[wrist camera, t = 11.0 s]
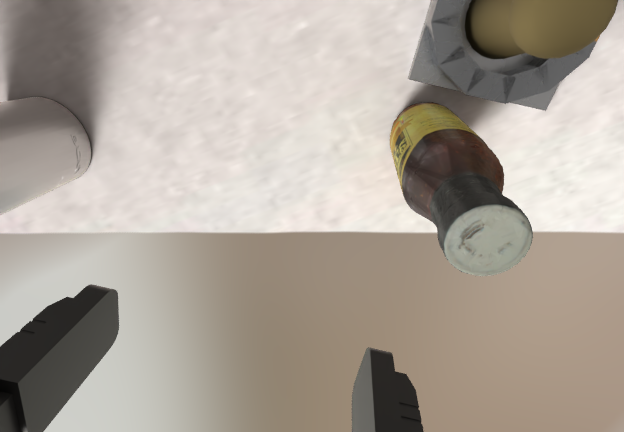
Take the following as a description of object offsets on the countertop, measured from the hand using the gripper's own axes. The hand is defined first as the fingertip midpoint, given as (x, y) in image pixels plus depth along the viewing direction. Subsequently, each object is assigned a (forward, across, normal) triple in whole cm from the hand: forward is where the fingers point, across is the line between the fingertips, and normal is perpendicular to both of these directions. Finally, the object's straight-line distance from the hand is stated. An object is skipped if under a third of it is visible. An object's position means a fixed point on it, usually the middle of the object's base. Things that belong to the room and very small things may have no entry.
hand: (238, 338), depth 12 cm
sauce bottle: (+27, -10, -3) cm, 29 cm away
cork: (+26, -13, -13) cm, 32 cm away
